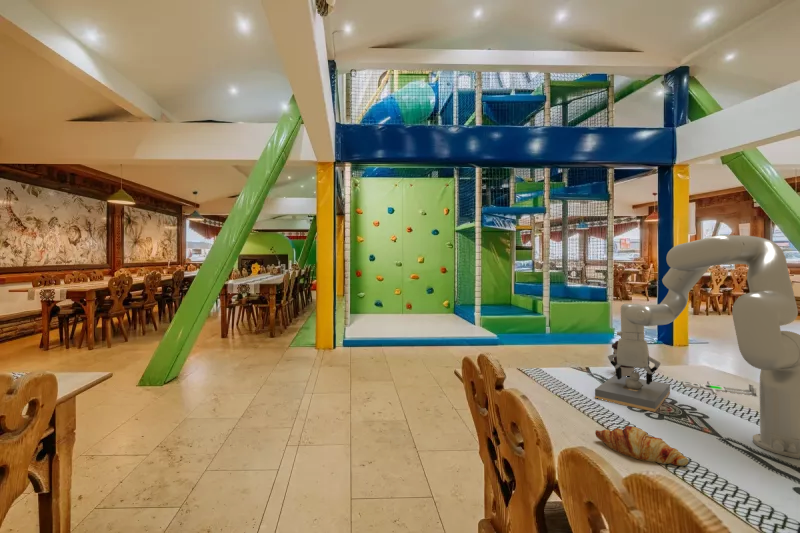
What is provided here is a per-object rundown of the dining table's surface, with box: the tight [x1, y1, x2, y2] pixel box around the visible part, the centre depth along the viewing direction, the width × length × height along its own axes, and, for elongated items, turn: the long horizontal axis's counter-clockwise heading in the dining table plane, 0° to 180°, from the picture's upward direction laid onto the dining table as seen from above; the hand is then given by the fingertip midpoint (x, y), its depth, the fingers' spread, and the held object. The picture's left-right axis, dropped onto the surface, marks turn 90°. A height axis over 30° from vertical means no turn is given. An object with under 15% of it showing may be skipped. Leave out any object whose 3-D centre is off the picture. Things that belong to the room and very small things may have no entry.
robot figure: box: [681, 380, 757, 397], centre depth 149 cm, size 16×3×22 cm
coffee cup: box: [611, 340, 635, 376], centre depth 170 cm, size 10×10×15 cm
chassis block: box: [594, 374, 671, 413], centre depth 142 cm, size 26×19×4 cm
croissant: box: [594, 425, 689, 466], centre depth 99 cm, size 21×10×8 cm, turn 47°
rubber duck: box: [625, 369, 642, 390], centre depth 142 cm, size 5×7×8 cm
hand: (633, 381), depth 142 cm, fingers open, 9 cm apart
